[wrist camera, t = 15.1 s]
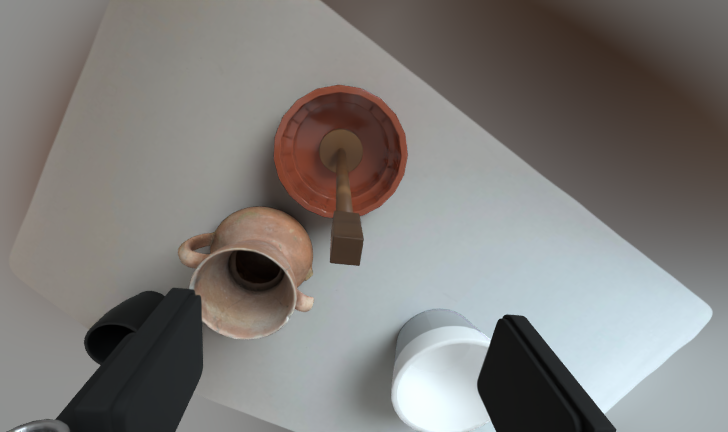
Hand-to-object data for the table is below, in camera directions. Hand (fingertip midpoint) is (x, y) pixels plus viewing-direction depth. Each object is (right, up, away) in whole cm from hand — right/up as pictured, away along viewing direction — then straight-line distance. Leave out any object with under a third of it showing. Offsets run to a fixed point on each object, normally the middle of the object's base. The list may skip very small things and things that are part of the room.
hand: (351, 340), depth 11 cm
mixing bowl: (-3, +13, +38) cm, 40 cm away
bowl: (+13, -19, +51) cm, 56 cm away
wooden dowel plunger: (-3, +13, +37) cm, 40 cm away
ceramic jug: (-15, 0, +42) cm, 45 cm away
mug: (-32, -11, +45) cm, 56 cm away
